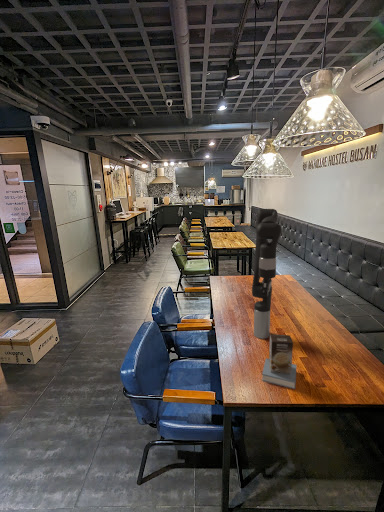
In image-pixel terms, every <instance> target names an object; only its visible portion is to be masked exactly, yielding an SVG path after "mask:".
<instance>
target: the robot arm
mask: <svg viewBox="0 0 384 512" xmlns="http://www.w3.org/2000/svg"><path fill="white" fill-rule="evenodd" d="M277 222H278V211H277V209H275V208H259V209H257V212H256V229H255V231H256V238H255V246H254V247H255V248H254V267H253V268H254V269H253V277H252V278H253V279H252V284H251V285H252V286H251V295H252V297H253V298H259V299H262V300H259V301H256V302H254V306H253V307H254V308H253V309H254V310H253V336H254V337H255V338H258V339H263V340H264V339H268V338H270V334H271V308H272V307H271V305H272V296H273V295H272V294H273V286H272V282H273V280H272V279H274V278H275V277H276V274H277V273H276V272H277V247H278V243H279V239H280V237H281V234H282V226H281V224H279V223H277ZM268 240H271V241H270V242H269V241H268ZM261 278H262V281H260V279H261Z"/></svg>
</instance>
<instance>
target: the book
mask: <svg viewBox="0 0 384 512" xmlns="http://www.w3.org/2000/svg"><path fill="white" fill-rule="evenodd" d="M261 375H262V378H261V381H262V382H265V383H270V384H273V385H277V386H281V387H285V388H287V389H292V390H296V383H297V380H296V379H297V364H295V363H292V368H291V374H285V373H273V372H270V367H269V357H268V358H267V357H266V358H265V360H264V365H263V369H262V373H261Z"/></svg>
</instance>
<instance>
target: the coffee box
mask: <svg viewBox="0 0 384 512" xmlns="http://www.w3.org/2000/svg"><path fill="white" fill-rule="evenodd" d="M293 347H294V342H293V339H292V337H291V335H290V334H289V335H288V334H287V335H286V334H278V333H277V334H275V333H270V334H269V350H268V352H269V353H268V359H269V367H270V372H273V373H285V374H291V368H292V364H293Z"/></svg>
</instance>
